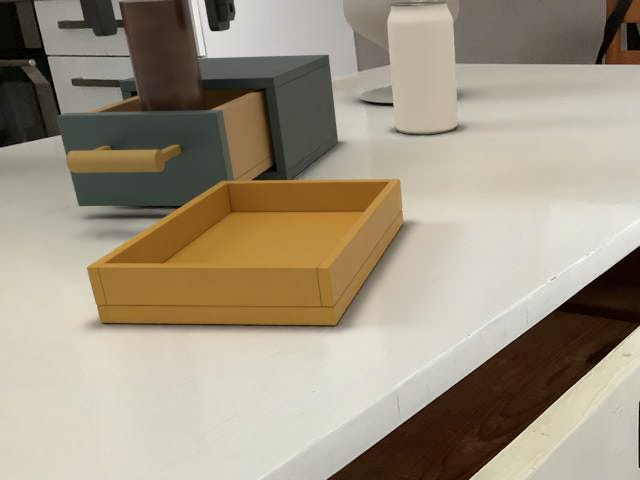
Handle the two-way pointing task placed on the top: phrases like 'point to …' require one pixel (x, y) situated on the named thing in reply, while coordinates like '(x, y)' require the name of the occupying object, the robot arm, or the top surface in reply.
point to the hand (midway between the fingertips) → (162, 33)
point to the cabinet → (279, 103)
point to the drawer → (166, 149)
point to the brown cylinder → (163, 54)
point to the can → (423, 67)
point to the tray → (252, 255)
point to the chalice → (379, 31)
